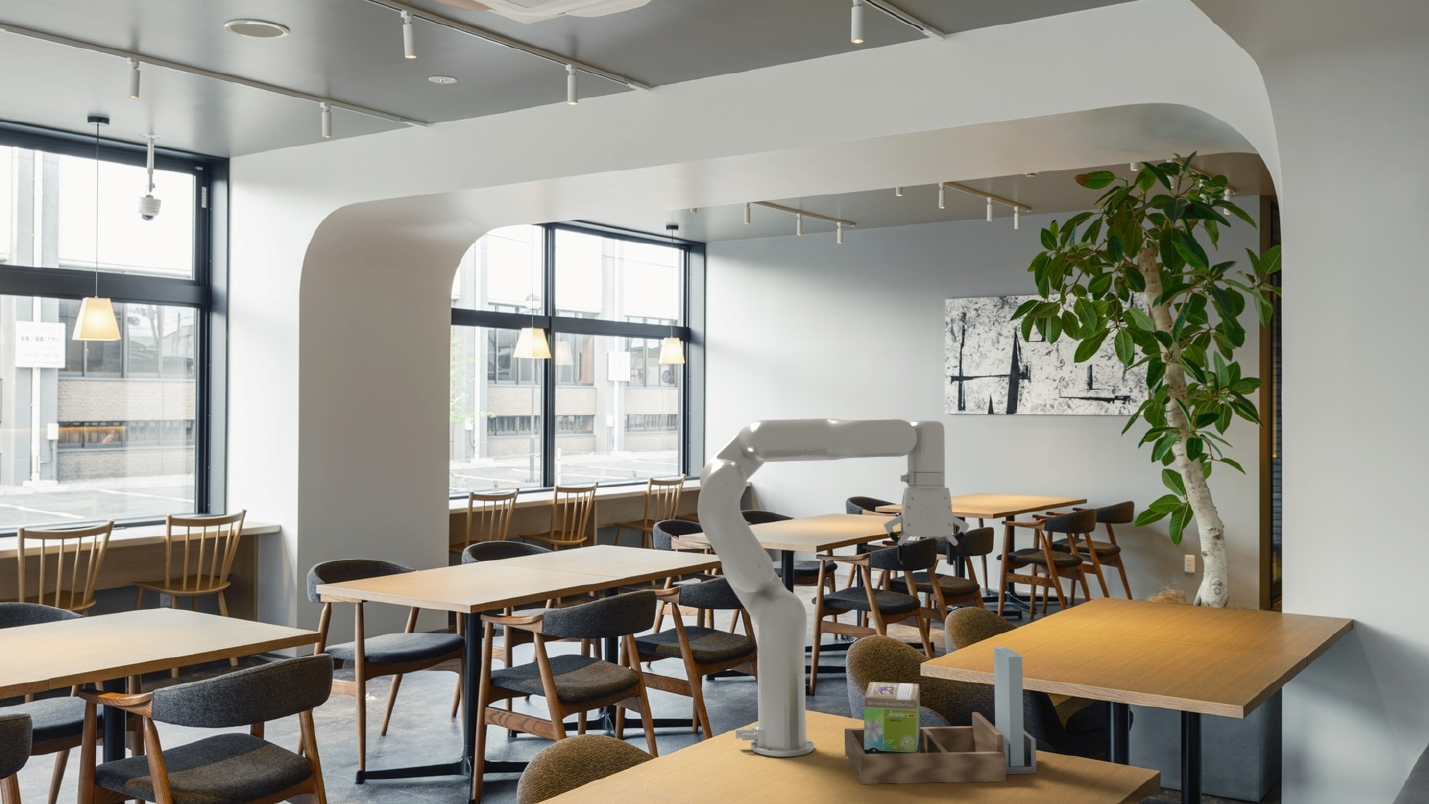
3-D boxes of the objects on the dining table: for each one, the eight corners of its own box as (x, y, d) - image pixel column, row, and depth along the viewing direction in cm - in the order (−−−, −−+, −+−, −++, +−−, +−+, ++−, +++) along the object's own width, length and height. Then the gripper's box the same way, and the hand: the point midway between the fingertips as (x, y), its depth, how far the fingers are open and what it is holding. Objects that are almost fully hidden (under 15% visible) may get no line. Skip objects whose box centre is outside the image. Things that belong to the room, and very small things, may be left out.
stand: (1004, 774, 212) (1003, 740, 212) (986, 756, 224) (985, 724, 224) (1036, 773, 212) (1035, 739, 213) (1017, 755, 224) (1016, 723, 225)
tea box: (918, 781, 209) (917, 698, 209) (863, 778, 211) (861, 696, 211) (921, 758, 223) (919, 681, 224) (868, 756, 225) (867, 679, 226)
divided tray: (861, 784, 207) (860, 739, 207) (844, 754, 227) (844, 713, 227) (1006, 781, 208) (1005, 736, 208) (977, 751, 228) (976, 710, 228)
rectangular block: (1010, 765, 213) (1008, 656, 214) (995, 751, 223) (993, 647, 224) (1024, 765, 213) (1022, 656, 214) (1008, 751, 223) (1006, 647, 224)
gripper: (887, 481, 233) (887, 566, 232) (972, 481, 233) (973, 566, 233) (881, 480, 241) (881, 562, 240) (963, 480, 241) (964, 562, 240)
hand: (926, 564), depth 236 cm, fingers open, 9 cm apart
